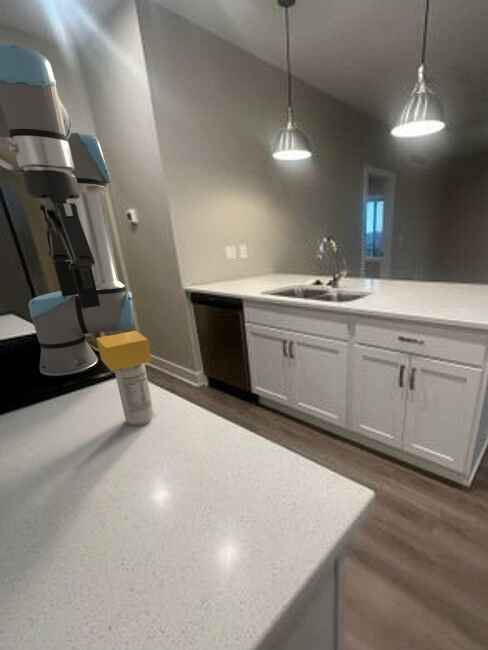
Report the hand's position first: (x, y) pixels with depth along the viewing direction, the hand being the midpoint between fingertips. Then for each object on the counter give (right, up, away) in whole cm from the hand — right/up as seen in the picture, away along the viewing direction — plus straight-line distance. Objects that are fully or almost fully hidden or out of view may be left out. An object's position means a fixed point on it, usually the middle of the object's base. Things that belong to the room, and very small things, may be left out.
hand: (80, 300), depth 64 cm
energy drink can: (+4, -25, +16) cm, 30 cm away
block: (+4, -11, +10) cm, 15 cm away
